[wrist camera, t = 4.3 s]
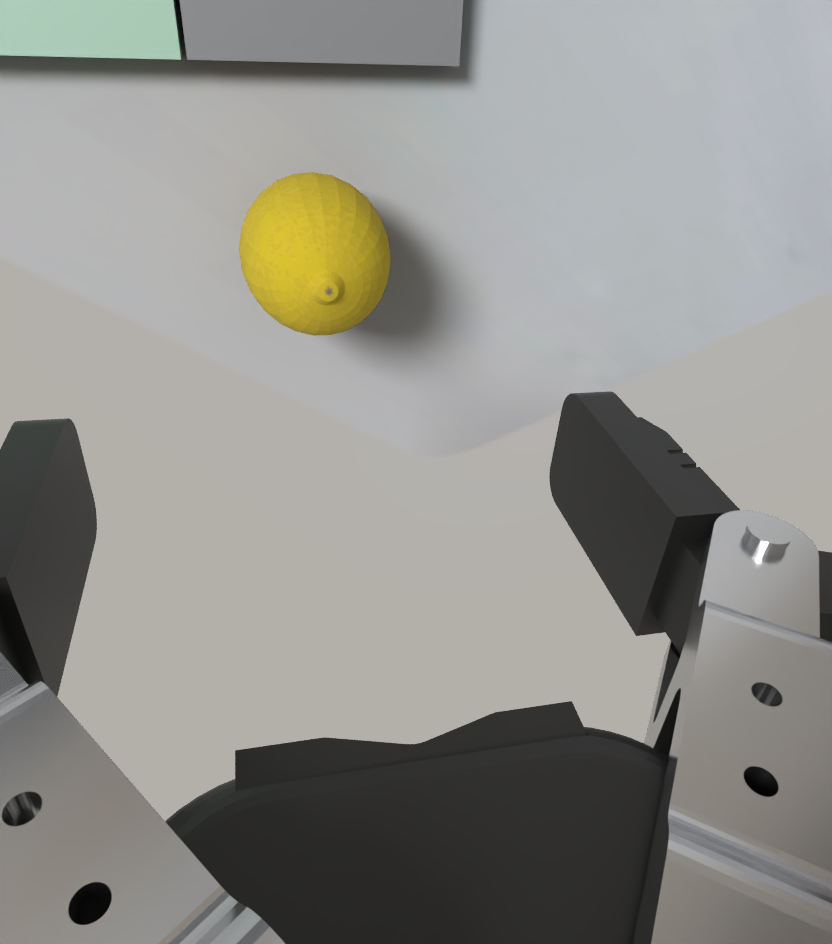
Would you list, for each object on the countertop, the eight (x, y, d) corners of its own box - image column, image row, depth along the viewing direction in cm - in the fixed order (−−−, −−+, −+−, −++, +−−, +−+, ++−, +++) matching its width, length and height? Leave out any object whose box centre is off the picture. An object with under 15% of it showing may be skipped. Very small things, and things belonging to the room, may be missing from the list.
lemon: (382, 271, 32) (422, 346, 25) (260, 301, 31) (269, 385, 25) (355, 139, 28) (393, 186, 22) (218, 170, 28) (217, 228, 21)
